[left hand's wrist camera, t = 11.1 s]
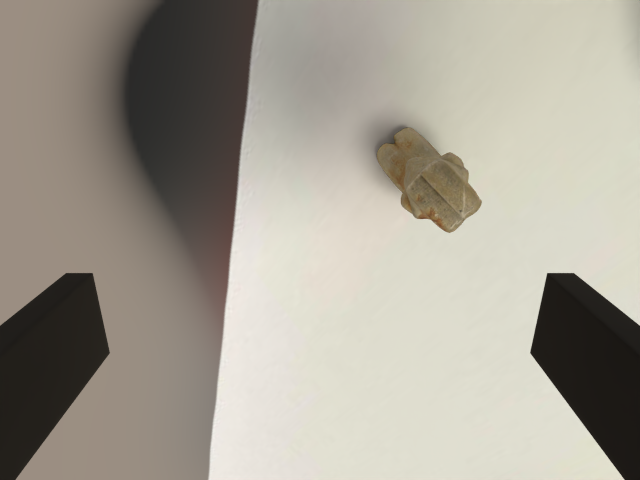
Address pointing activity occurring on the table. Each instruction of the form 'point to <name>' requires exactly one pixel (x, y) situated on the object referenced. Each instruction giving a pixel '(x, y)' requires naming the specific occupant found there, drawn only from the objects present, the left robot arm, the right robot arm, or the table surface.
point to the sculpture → (429, 180)
